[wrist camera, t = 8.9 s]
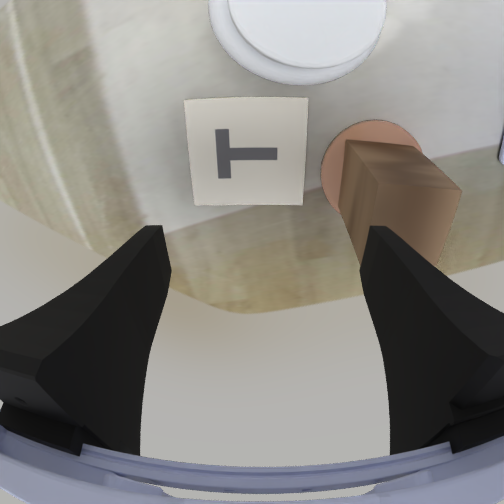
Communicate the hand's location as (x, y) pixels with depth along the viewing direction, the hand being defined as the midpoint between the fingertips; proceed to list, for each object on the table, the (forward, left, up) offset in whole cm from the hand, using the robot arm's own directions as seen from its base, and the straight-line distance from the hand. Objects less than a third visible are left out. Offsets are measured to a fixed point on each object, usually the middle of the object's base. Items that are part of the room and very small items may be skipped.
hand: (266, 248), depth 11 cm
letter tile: (+1, 0, -9) cm, 9 cm away
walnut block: (-7, +1, -9) cm, 11 cm away
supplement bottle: (-1, -8, -10) cm, 13 cm away
